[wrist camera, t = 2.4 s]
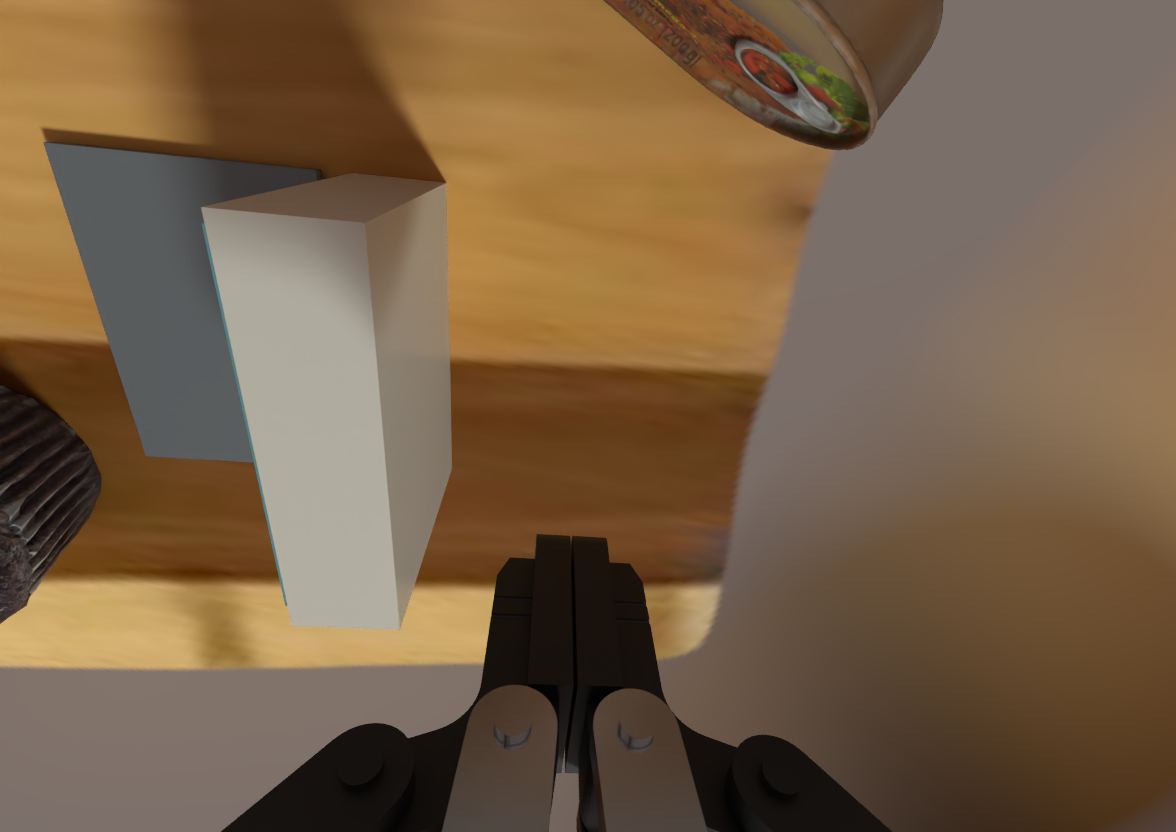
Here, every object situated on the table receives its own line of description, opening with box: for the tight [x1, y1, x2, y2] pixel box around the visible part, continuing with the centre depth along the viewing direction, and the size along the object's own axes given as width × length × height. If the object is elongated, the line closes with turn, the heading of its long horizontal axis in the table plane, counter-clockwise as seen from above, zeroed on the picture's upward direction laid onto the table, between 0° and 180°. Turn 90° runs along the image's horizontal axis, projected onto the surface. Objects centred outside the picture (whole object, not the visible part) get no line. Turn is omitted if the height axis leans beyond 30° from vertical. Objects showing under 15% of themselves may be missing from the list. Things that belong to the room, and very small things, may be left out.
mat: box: [43, 142, 322, 462], centre depth 21 cm, size 12×8×1 cm
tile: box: [201, 173, 452, 630], centre depth 18 cm, size 12×4×9 cm, turn 174°
